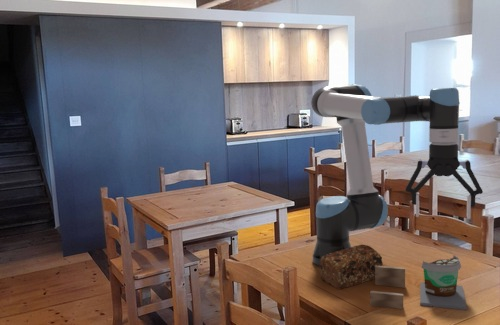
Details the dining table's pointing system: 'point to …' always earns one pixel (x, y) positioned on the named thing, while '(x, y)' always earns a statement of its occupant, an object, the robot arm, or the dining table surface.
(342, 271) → the bread
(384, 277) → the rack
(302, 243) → the dining table surface
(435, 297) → the mat
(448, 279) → the food container
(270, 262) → the dining table surface
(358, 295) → the dining table surface
